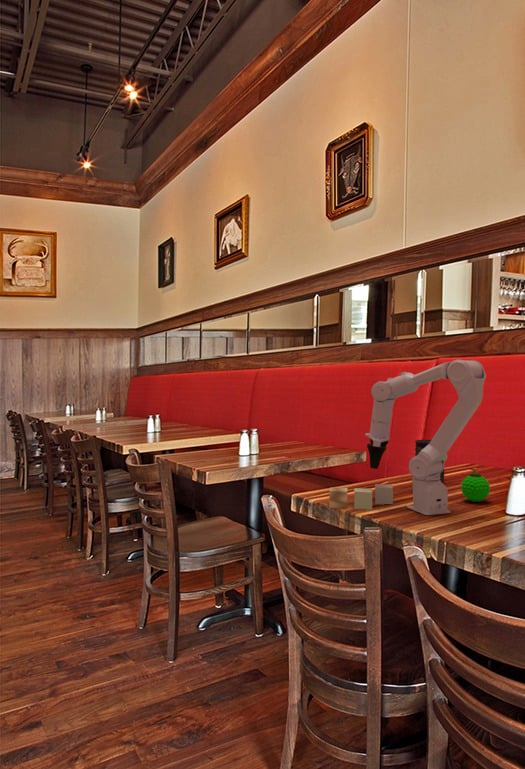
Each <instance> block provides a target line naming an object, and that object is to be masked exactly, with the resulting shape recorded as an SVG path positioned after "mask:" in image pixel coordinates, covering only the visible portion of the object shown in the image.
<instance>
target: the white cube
mask: <svg viewBox="0 0 525 769" xmlns="http://www.w3.org/2000/svg"><path fill="white" fill-rule="evenodd" d="M374 502H375V503H374V504H375V505H384V504H393V505H394V486H393V485H392V484H379V483H375V485H374Z"/></svg>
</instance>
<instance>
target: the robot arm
mask: <svg viewBox="0 0 525 769" xmlns="http://www.w3.org/2000/svg"><path fill="white" fill-rule="evenodd" d="M486 378H487V374H486V372H485V369H484V366H483V364H482V363H480V361H477V360H475V359H474V360H472V359H471V360H463V359H455V360H452V361H448V362H443V363H441V364H438V365H436V366H434V367H431V368H429V369H426V370H424V371H421V372H419V373H416V374H413V373H412V372H407V371H403V372H400V375H398V376H395V377H393V378H392V377H388V378H387V379H386V381H380V380H379V381H378V380H377V382H376V383H374V384H373V386H372V387H371V396H372V397H373V404H372V405H373V406H372V411H371V412H372V414H371V420H370V427H369V428H370V429H369V432H368V433H367V432H366V433H365V437H367V438H369V442H370V443H368V442H367V444H366V448H367V450H368V453H369V467H370V469H374V470H378V469H379V466H380V464H381V460H382V457H383V454H384V453H385V452H386V451H387V448H388V447H387V445H388V444H389V440H390V429H391V425H392V417H393V407H394V404H395V401H396V399H398V398H400V397H403V396H406V395H409V394H412V393H414V392H417V390H418V389H419V386H422V385H426V384H428V383H432V382H434V381H435V382H436V381H439V380H442V379H443V380H449V381H450V383H451V384H452V385H453V386H452V387H454V389H455V391H456V393H457V396H458V400H457V401H456V403H455V404H454V406H453V407H452V408H451V410H450V412H449V413H448V414H447V416H446V417H445V419H444V420H443V422H442V424H441V425H440V427H438V428H439V429H437V431H436V432H435V434H434V436H433V437H432V439H430V440H431V442H430V443H429V444H428V445H427V446H426V447H425V448H424V449H422V450H421V451H420V453H419V454H418V455H417V456H415V455H414V457H412V458H411V459H410V460H409V462H408V470H409V473H410V474H411V477H412V476H413V492H412V494H413V495H412V496H413V497H412V498H413V499H412V500H413V501H412V504H413V505H412V504H411V505H407V506H406V508H407V509H409V510H412V511H414V512H417V513H418V514H419V513H420V514H421V515H425V516H433V515H442V514H443V515H445V514H450V513H451V510H449V504H448V503H449V498H448V497H449V495H448V492H449V491H448V488H447V486H446V485H445V483H444V484H443V483H441V481H440V473H441V472H442V471H443V469H444V470H445V463H446V461H447V459H448V452H449V451H450V449H451V447H452V446H453V444H454V443H455V442H456V440H457V439H458V437H459V436H460V435H461V433H462V432H463V431H464V430H463V429H464V428H465V427H466V425H468V422H469V421H470V420H471V418H472V417H473V415H474V414H475V413H476V412H477V410H478V408H479V406H481V404H482V402H483V396H484V385H485V381H486Z"/></svg>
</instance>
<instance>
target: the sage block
mask: <svg viewBox="0 0 525 769" xmlns="http://www.w3.org/2000/svg"><path fill="white" fill-rule="evenodd" d="M353 495H354V496H353V498H354V499H353V501H354V502H353V503H354V507H353V508H354V510H369V511H370V510H371V511H372V510H373V489H372V488H361V487H360V488H357V487H355V488H354V490H353Z"/></svg>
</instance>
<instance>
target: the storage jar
mask: <svg viewBox="0 0 525 769" xmlns="http://www.w3.org/2000/svg"><path fill="white" fill-rule="evenodd" d="M431 440H432V439H416V440H415V449H414V452H415V453H414V457H415V456H417V455H418V454H419V453H420V451H421V450H422V449H424V448H425V447H426V446H427V445H428V444H429V443H430V442H431ZM440 481H441V483H443V484H444V485H445V468H444V469H443V471H442V472H441V473H440Z"/></svg>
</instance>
